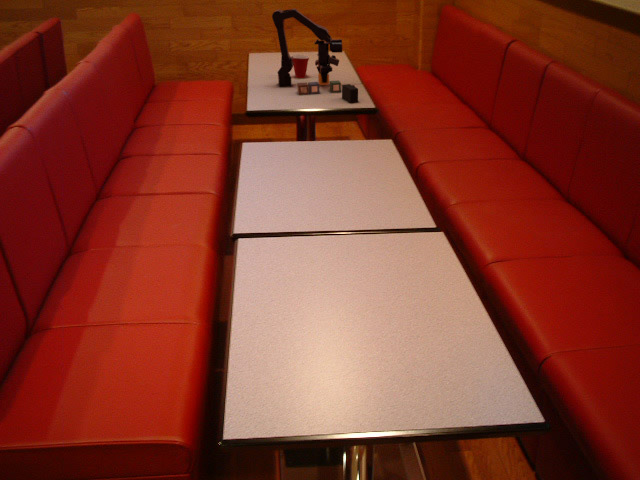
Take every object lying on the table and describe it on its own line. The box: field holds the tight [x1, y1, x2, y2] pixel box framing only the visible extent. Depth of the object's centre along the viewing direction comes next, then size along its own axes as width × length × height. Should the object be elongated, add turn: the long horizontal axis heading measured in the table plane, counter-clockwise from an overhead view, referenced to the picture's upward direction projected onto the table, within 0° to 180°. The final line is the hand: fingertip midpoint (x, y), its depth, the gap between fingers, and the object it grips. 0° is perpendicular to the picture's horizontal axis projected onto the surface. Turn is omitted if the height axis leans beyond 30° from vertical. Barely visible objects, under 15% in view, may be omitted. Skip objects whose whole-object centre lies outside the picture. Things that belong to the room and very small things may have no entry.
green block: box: [329, 79, 342, 94], centre depth 338 cm, size 5×5×5 cm
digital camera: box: [341, 83, 359, 104], centre depth 321 cm, size 10×5×7 cm, turn 23°
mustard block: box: [317, 72, 330, 86], centre depth 348 cm, size 5×5×5 cm
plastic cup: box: [290, 54, 310, 79], centre depth 365 cm, size 11×11×12 cm
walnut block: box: [296, 82, 309, 96], centre depth 335 cm, size 5×5×5 cm
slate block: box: [307, 81, 320, 95], centre depth 336 cm, size 5×5×5 cm
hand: (323, 81), depth 349 cm, fingers closed on mustard block, 5 cm apart
